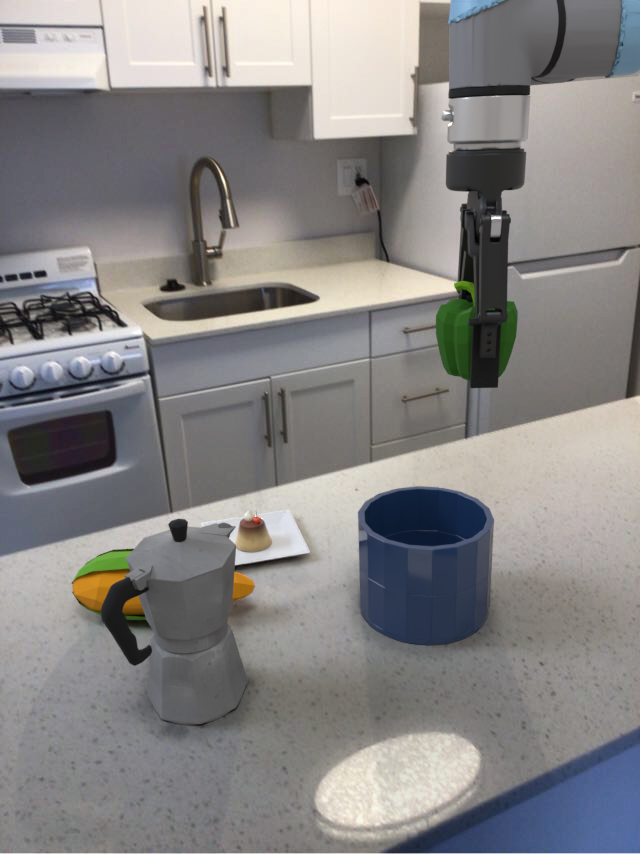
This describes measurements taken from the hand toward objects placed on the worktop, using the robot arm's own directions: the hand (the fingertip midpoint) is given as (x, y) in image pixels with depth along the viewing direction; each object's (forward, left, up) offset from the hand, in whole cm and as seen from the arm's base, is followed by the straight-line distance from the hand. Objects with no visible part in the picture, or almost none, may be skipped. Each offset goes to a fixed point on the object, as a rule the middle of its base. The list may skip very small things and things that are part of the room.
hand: (476, 373), depth 80 cm
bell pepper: (0, 0, 0) cm, 1 cm away
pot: (+6, +8, -24) cm, 26 cm away
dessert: (+26, -6, -24) cm, 36 cm away
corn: (+34, +8, -24) cm, 42 cm away
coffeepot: (+29, +22, -24) cm, 43 cm away
